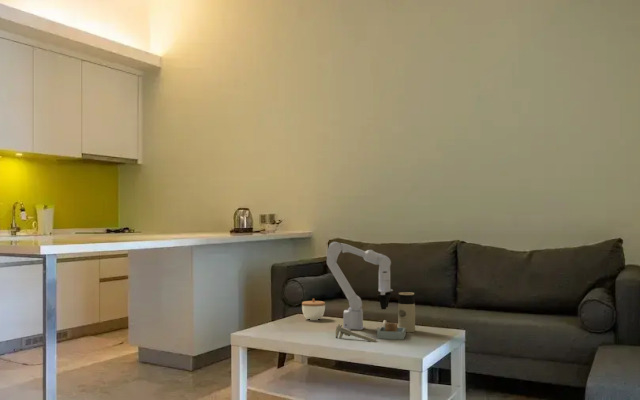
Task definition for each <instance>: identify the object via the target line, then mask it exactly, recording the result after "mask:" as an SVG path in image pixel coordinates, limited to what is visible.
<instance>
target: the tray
mask: <svg viewBox="0 0 640 400" xmlns="http://www.w3.org/2000/svg"><path fill="white" fill-rule="evenodd" d="M379 327H380V328H379V330H378V331H377V332H376V335H377V336H376V338H377V339H381V340H383V339H385V340H404V339H405V337H406V334H407V332H406V328H398V327H397V328H398V332H390V331H385V327H383V326H379Z"/></svg>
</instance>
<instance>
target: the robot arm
mask: <svg viewBox="0 0 640 400" xmlns="http://www.w3.org/2000/svg"><path fill="white" fill-rule="evenodd" d="M341 252H342V254H344V253H350V254H353V255H356V256H358V257H362V258H363V260H364V261H365V262H368V263H370V264H372V265H376V266H378V290H377V291H378V292H379V294H377V297H378V301H379V304H380V310H387V308H388V307H389V303H390V298H391V295H392V292H393V291H394V289H392V288H391V265H392V261H391V259H390V258H389V257H388V256H387V255H384V254H383V253H379V252H376V251H374V250H373V249H367V250H363V249H360V248H357V247H356V246H352V245H350V244H347V243H344V242H343V243H342V242H337V241H331V243H329V245H328V248H327V251H326V265H327V267H328V269H329V270H330V272H331V273H332V275H333V277H334V278H335V280H336V282H337V283H338V285H339V287H340V288H341V290H342V292H343V294H344V295H345V298H346V299H347V301H348V306H349V307H348V308H347V309H344V310H343V316H342V317H343V319H342V320H343V321H342V322H343V323H342V328H346V329H349V330H358V331H362V330H363V329H365V325H364V316H363V315H364V309H363V308H362V307H363V301H362V298H361V297H360V296H359V295H357V294H356V292H355V290H354V289H353V287H352V285H351V284H350V282H349V281H348V279H347V277H346V276H345V274H344V273H343V271H342V269H341V268H340V266H339V264H338V263H337V262H338V257H339V255H340V254H341Z"/></svg>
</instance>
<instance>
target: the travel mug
mask: <svg viewBox="0 0 640 400" xmlns="http://www.w3.org/2000/svg"><path fill="white" fill-rule="evenodd" d="M398 295H399V297H398V300H397V302H398V303H397V313H398V314H397V320H398V322H397V328H406V333H414V332H415V331H416V300H415V298H414V296H415V292H406V291H405V292H404V291H403V292H398Z"/></svg>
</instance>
